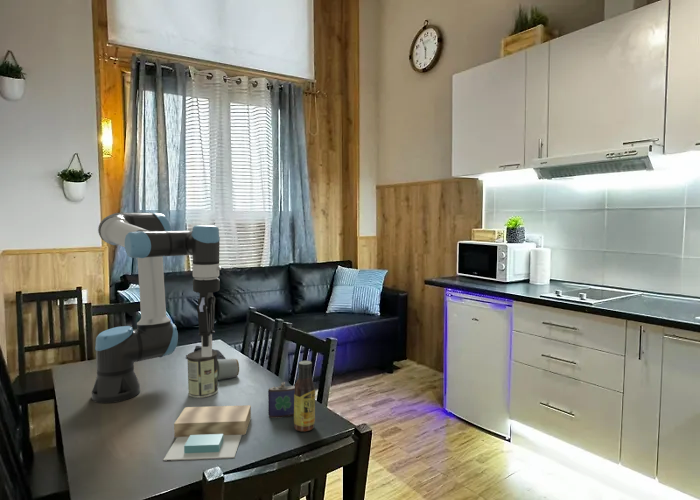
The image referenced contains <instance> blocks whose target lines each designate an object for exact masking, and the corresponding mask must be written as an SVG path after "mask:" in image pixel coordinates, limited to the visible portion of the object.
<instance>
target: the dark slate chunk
mask: <svg viewBox="0 0 700 500" xmlns="http://www.w3.org/2000/svg"><path fill="white" fill-rule="evenodd" d="M200 350H202V345H195V347H194V349H193V352H195V351H200ZM212 350H213V351H216V352H217V360H218V359H227V358H226V357H225V356H224V354H223V353H222V352H221V351H220V350H218V349H213V348H212ZM187 355H188V354H186V355H185V357H186V358H187Z"/></svg>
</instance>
